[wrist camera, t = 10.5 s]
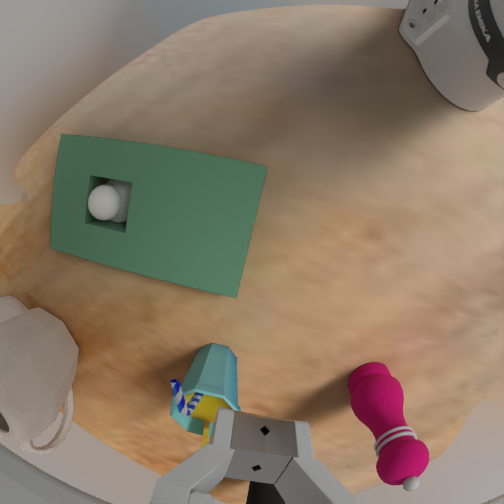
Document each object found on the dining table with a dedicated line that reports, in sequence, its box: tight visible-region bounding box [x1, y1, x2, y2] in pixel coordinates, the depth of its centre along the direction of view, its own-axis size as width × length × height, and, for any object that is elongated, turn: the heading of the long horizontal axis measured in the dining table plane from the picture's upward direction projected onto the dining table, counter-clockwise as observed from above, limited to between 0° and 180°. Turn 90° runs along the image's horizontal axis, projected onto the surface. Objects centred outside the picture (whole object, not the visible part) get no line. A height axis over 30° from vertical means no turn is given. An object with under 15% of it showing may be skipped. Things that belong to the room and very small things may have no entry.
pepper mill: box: [348, 362, 429, 491], centre depth 29 cm, size 7×7×20 cm
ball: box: [88, 185, 122, 220], centre depth 31 cm, size 4×4×4 cm
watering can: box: [0, 295, 79, 455], centre depth 30 cm, size 16×27×19 cm, turn 21°
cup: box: [170, 343, 241, 448], centre depth 31 cm, size 14×8×15 cm, turn 9°
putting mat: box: [50, 134, 267, 298], centre depth 32 cm, size 14×24×3 cm, turn 77°
